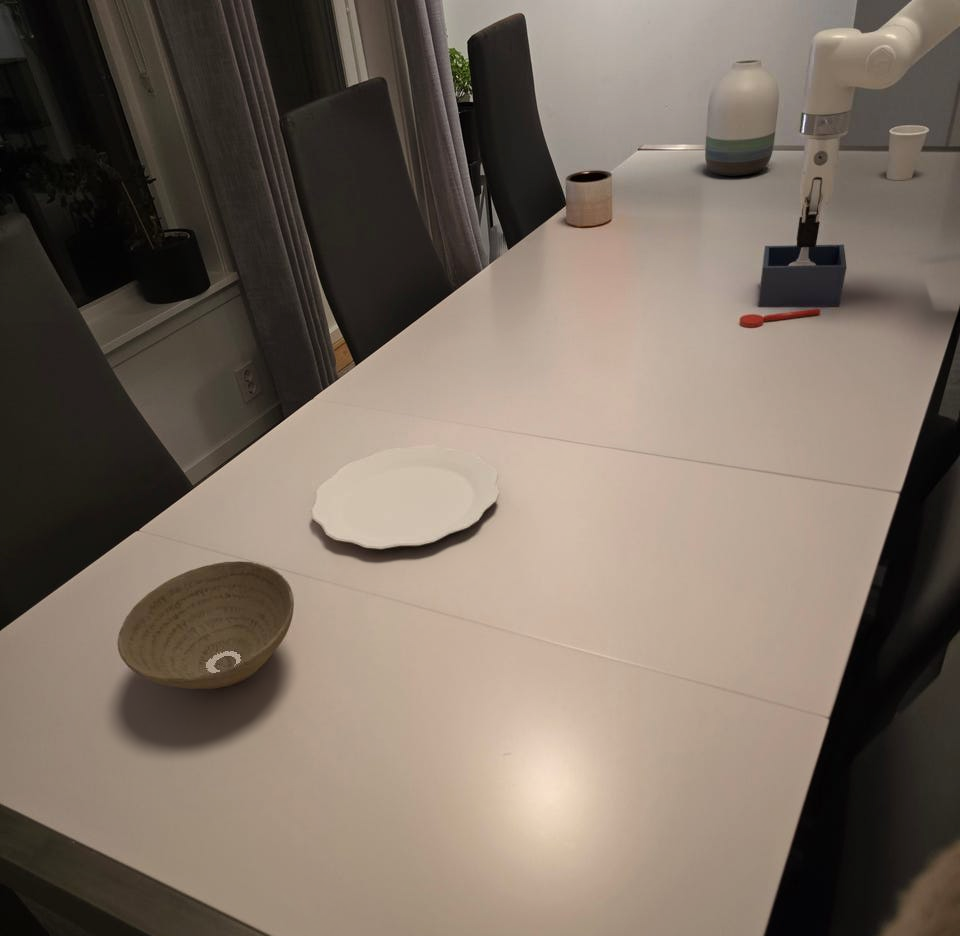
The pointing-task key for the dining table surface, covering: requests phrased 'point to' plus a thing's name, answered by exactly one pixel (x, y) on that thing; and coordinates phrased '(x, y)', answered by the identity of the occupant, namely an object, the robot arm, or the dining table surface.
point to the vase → (742, 120)
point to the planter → (589, 198)
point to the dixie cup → (904, 151)
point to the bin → (802, 276)
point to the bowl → (208, 625)
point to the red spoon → (774, 317)
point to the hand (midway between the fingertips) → (806, 243)
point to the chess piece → (803, 258)
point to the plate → (405, 497)
